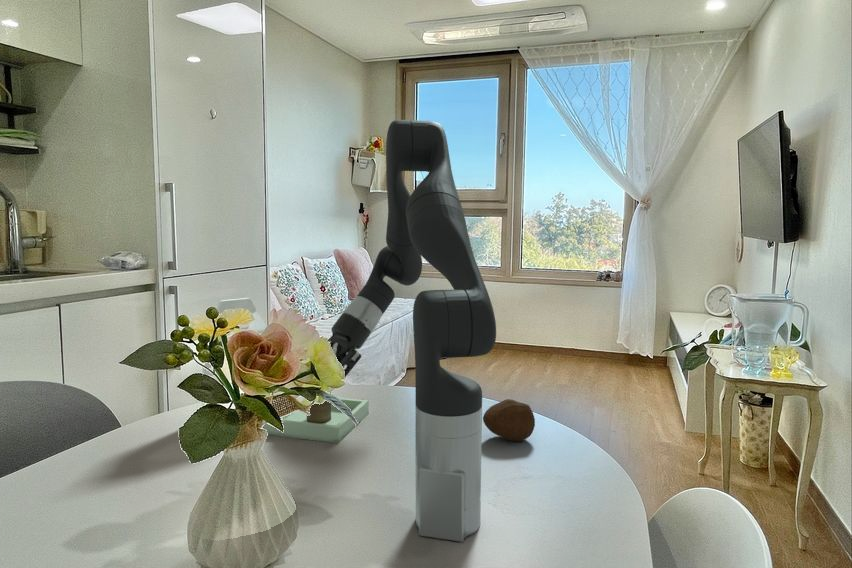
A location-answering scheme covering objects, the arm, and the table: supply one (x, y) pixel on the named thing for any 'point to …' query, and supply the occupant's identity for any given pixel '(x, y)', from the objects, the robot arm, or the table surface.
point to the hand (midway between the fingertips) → (310, 386)
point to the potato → (510, 420)
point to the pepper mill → (320, 413)
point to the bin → (326, 431)
